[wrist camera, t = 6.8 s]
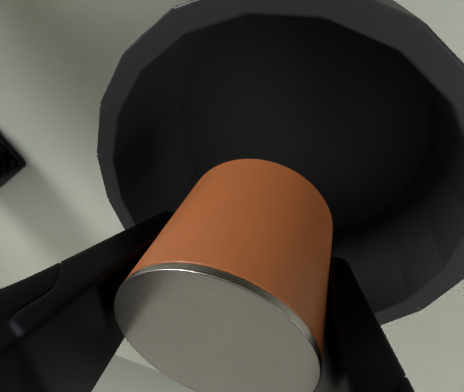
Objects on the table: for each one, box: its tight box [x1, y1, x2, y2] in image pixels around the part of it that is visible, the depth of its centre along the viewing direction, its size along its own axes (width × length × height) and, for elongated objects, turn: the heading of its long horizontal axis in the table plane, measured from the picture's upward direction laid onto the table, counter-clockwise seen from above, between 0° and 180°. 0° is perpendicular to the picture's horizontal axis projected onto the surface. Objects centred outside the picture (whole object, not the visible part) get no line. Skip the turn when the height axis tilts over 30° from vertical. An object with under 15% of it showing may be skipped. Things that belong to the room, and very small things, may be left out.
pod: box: [114, 159, 333, 392], centre depth 9 cm, size 5×5×4 cm
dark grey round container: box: [97, 0, 464, 325], centre depth 14 cm, size 13×13×6 cm
